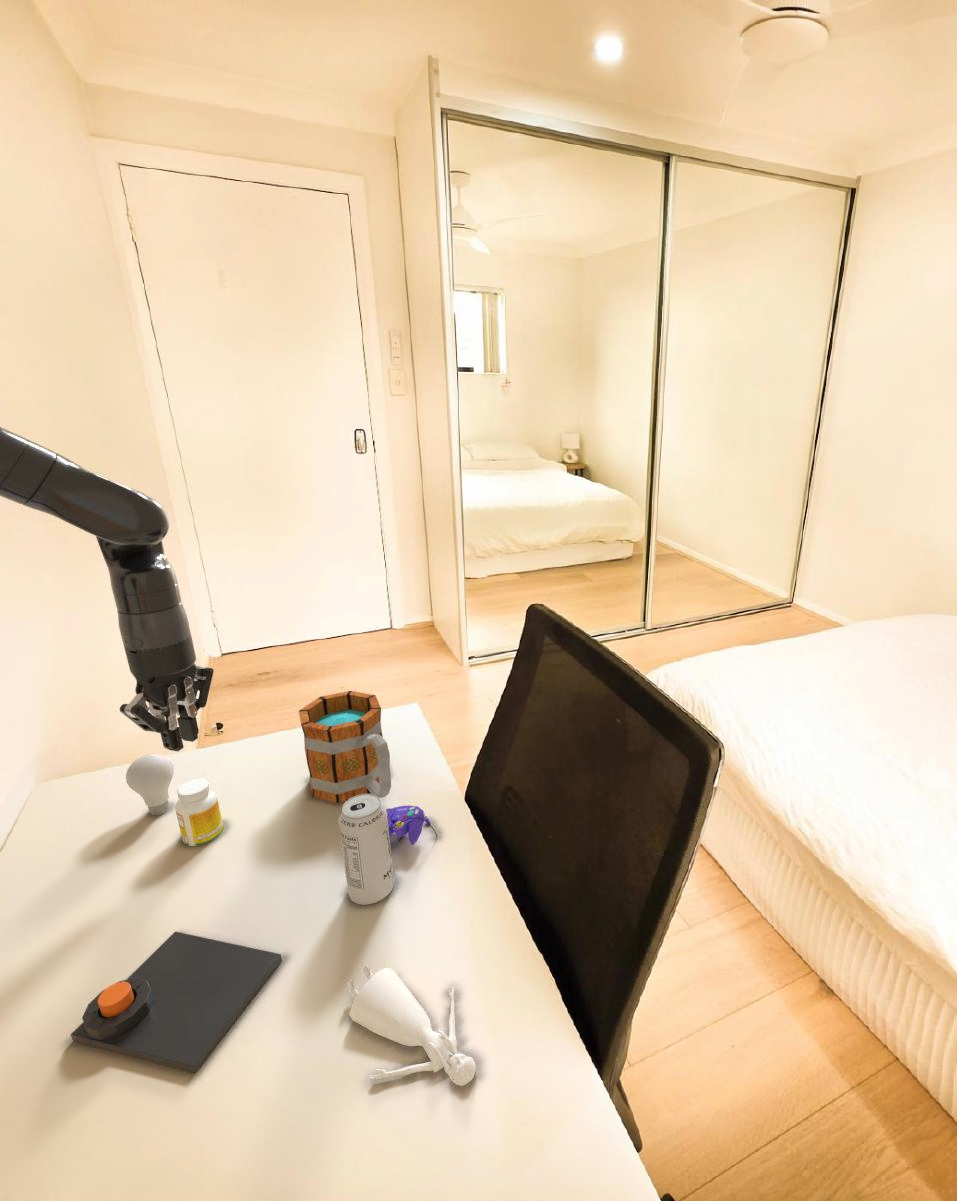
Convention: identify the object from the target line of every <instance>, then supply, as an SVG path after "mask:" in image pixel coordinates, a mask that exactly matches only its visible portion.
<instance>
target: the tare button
mask: <svg viewBox="0 0 957 1201" xmlns="http://www.w3.org/2000/svg"><path fill="white" fill-rule="evenodd" d="M117 982H118V983H117ZM117 982H115V983H112V984H111V985H109V986H108V987H106V988H107V989H106V988H105V989H103V990H104V991H103V990H102V991H103V992H102V991H101V992H102V993H101V992H100V993H101V995H100V996H99V998H98V1005H99V1008H100V1011H101V1014H102V1015H103V1016H104V1017H107V1018H110V1017H115V1016H117V1015H119V1014H121V1013H122V1012H124V1011H126V1010H127V1009H128V1008H129V1007H130V1006H131V1004H132V1003H133V1000H134V995H133V992H132V989H131V986H130V984H129V983H128V982H119V981H117Z"/></svg>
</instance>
